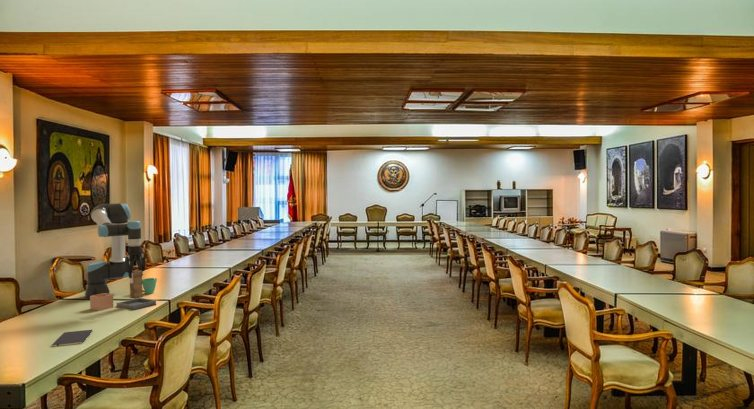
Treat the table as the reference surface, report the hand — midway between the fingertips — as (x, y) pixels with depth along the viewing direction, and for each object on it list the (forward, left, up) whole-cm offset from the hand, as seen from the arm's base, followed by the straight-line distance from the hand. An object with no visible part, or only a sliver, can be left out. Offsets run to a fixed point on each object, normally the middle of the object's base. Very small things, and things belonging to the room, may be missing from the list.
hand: (135, 282), depth 307 cm
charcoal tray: (0, 0, -15) cm, 15 cm away
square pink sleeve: (-12, -15, -15) cm, 25 cm away
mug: (-30, +28, -16) cm, 44 cm away
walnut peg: (0, 0, -10) cm, 10 cm away
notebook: (+33, -57, -16) cm, 68 cm away
